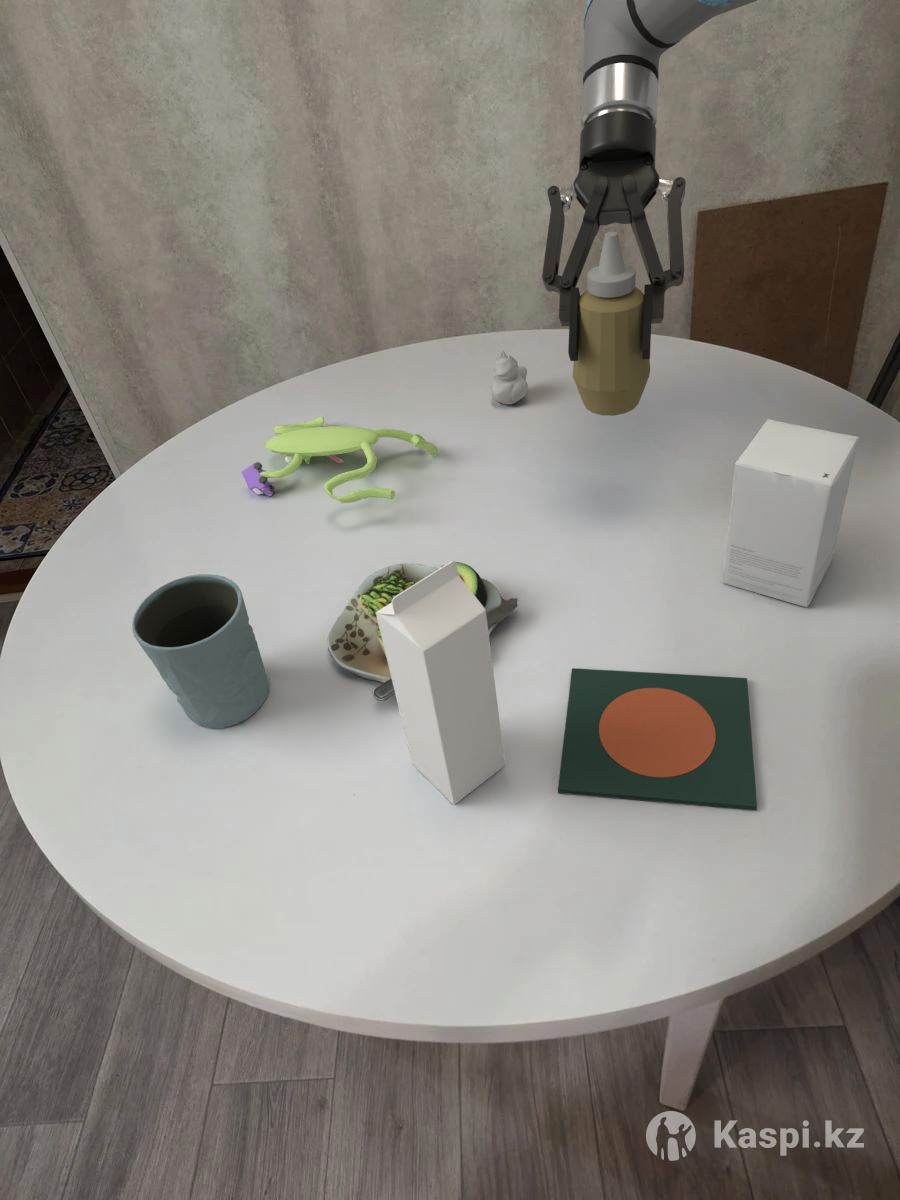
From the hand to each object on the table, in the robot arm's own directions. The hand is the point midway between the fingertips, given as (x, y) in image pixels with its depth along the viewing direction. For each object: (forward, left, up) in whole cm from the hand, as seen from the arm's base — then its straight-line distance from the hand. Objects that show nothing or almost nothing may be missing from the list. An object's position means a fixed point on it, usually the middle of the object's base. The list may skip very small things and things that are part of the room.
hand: (609, 355), depth 86 cm
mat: (-6, +31, -21) cm, 38 cm away
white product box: (-18, +8, -21) cm, 29 cm away
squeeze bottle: (0, -4, -8) cm, 8 cm away
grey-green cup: (+36, +30, -21) cm, 51 cm away
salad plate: (+18, +19, -21) cm, 34 cm away
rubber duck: (+15, -28, -21) cm, 38 cm away
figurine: (+35, -9, -21) cm, 42 cm away
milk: (+11, +36, -21) cm, 43 cm away
